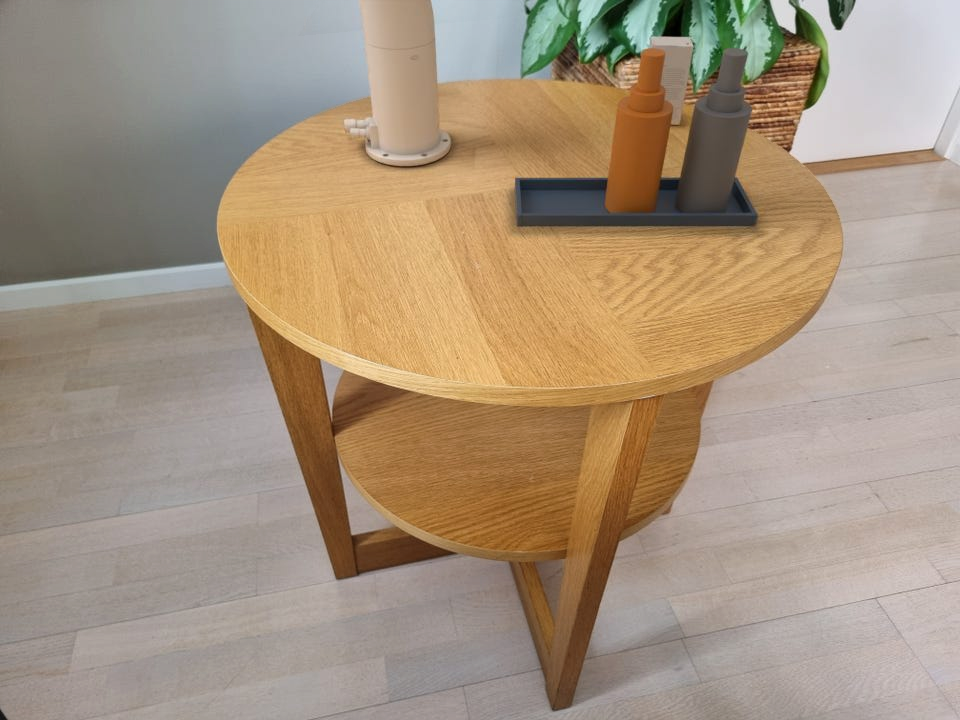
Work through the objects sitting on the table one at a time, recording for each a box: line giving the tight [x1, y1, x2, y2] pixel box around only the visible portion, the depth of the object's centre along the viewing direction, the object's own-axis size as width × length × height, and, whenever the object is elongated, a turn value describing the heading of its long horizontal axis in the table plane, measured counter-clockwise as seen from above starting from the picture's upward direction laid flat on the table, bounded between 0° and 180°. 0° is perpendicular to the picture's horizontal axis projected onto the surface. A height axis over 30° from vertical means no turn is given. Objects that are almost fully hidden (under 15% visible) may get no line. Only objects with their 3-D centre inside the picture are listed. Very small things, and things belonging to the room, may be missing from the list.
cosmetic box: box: [648, 36, 695, 126], centre depth 107 cm, size 6×4×12 cm
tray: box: [514, 176, 759, 227], centre depth 89 cm, size 29×10×2 cm, turn 90°
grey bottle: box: [675, 47, 753, 213], centre depth 83 cm, size 6×6×19 cm
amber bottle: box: [605, 47, 674, 213], centre depth 83 cm, size 6×6×19 cm
